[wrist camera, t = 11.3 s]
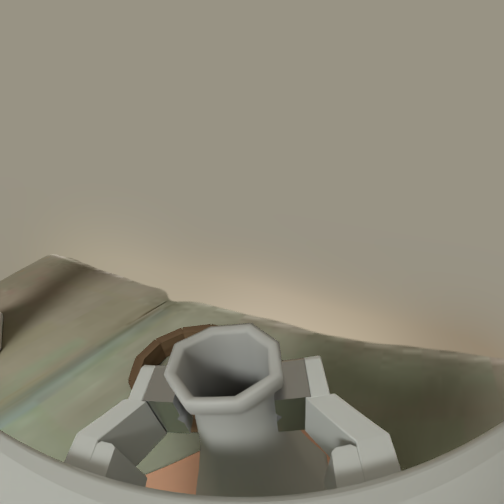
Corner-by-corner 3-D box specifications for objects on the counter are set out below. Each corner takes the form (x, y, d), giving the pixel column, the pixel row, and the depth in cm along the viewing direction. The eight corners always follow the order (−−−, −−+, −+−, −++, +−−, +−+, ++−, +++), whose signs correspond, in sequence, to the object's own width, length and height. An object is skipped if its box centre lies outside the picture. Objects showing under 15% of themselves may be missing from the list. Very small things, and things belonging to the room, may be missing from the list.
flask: (185, 447, 13) (110, 317, 9) (299, 413, 15) (291, 269, 11) (214, 551, 7) (90, 503, 3) (356, 503, 8) (425, 396, 4)
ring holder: (125, 368, 25) (118, 354, 25) (220, 325, 31) (217, 311, 31) (166, 454, 16) (156, 443, 15) (289, 385, 22) (288, 370, 21)
